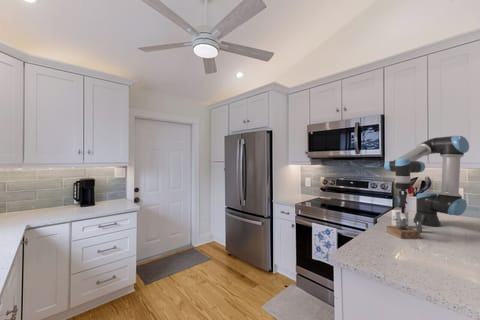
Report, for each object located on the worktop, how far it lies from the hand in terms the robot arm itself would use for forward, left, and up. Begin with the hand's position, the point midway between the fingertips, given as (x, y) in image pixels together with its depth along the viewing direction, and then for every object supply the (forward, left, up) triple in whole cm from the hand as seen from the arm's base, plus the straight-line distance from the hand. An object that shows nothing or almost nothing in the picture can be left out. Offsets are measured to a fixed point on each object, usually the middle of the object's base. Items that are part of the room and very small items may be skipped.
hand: (403, 215), depth 132 cm
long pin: (0, 0, -12) cm, 12 cm away
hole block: (0, 0, -12) cm, 12 cm away
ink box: (-11, -16, -12) cm, 23 cm away
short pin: (-16, -6, -12) cm, 21 cm away
